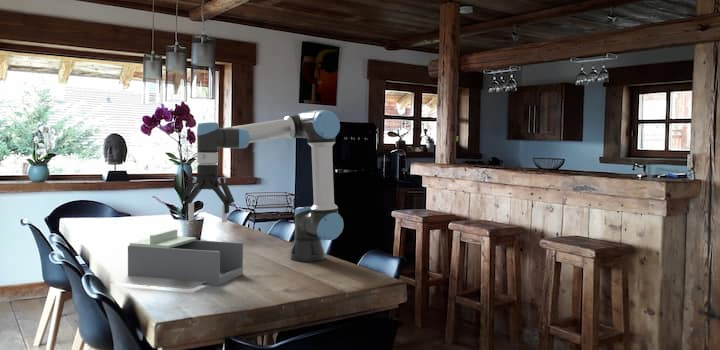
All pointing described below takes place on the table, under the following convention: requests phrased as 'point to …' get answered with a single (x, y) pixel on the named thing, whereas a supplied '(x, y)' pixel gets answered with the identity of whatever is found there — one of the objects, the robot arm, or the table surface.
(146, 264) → the housing
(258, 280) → the table surface
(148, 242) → the cover
